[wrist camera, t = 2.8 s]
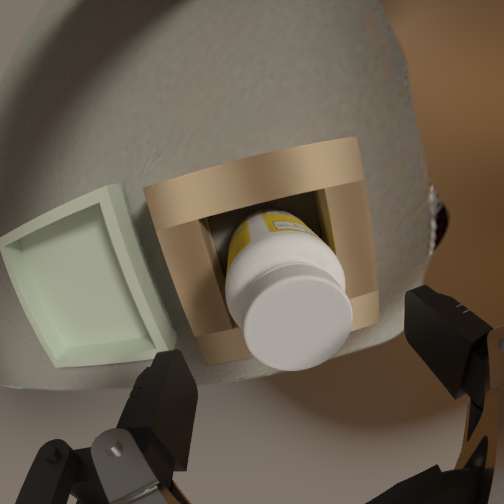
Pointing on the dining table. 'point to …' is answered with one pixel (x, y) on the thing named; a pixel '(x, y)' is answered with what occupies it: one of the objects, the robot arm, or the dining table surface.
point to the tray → (88, 282)
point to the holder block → (253, 192)
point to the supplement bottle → (286, 291)
